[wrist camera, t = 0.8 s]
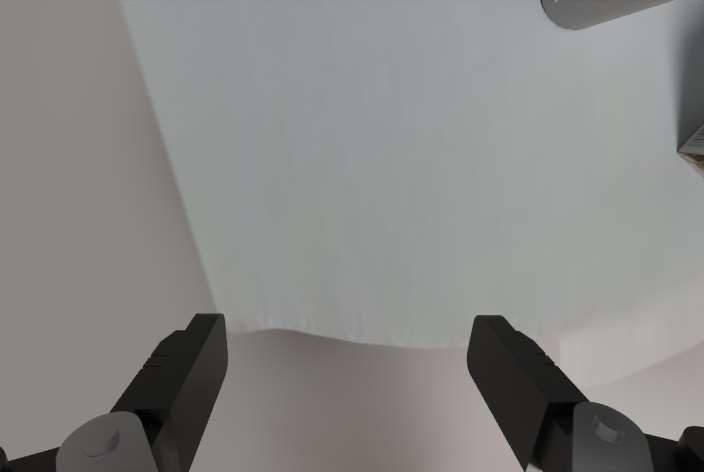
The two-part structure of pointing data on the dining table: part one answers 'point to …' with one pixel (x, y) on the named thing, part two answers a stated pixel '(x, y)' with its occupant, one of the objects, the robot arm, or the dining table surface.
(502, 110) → the dining table surface
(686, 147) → the printed cardboard box
